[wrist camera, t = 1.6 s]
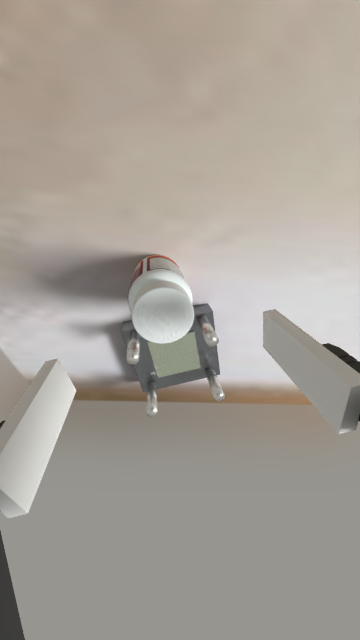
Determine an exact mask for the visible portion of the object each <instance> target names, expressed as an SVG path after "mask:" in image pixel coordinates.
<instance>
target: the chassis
mask: <svg viewBox="0 0 360 640" xmlns="http://www.w3.org/2000/svg"><path fill="white" fill-rule="evenodd" d="M193 308H194V321H193V324H192V326H191V328H190V330H189V331H188V332H187V333H186V334H185V335H184V336H183V337H182V338H180V339H178V340H176V341H174V342H171V343H164V344H160V343H153V342H150V341H148V340H146V339H144V338H143V337H142V336H140V335H139V333H138V332H137V331H136V329H135V328H134V325H133V322H132V321H127V322H123V325H122V330H121V333H122V335H123V338H124V341H125V344H126V346H127V355H126V361H127V363H129V364H132V365H134V368H135V371H136V374H137V376H138V379H139V382H140V384H141V387H142V390H143V392H147V416H149V417H155V416H156V415H157V414H158V411H157V391H156V389H160V388H164V387H168V386H172V385H177V384H181V383H185V382H189V381H194V380H198V379H202V378H206V377H207V379H208V382H209V385H210V387H211V390H212V393H213V396H214V399H215V400H216V401H221V400H223V399H224V398H225V395H224V393H223V390H222V388H221V385H220V383H219V380H218V378H217V376H216V375H219V374H220V370H219V361H218V353H217V344H218V342H219V339H218V337H217V335H216V333H215V327H214V319H213V311H212V309H211V308H210V306H209V305H208V304H204V305H199V306H195V307H193Z"/></svg>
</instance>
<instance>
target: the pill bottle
mask: <svg viewBox="0 0 360 640" xmlns="http://www.w3.org/2000/svg"><path fill="white" fill-rule="evenodd" d="M192 302H193V298H192V292H191V289H190V287H189V285H188V283H187V281H186V280H185V278H184V276H183V274H182V272H181V270H180V269H179V267H178V265H177V264H176V263H175V262H174V261H173V260H171V259H170V258H168V257H166V256H163V255H152V256H148V257H146V258H144V259H143V260H141V261H140V262H139V263H138V265H137V266H136V268H135V270H134V273H133V276H132V281H131V285H130V290H129V295H128V304H129V309H130V312H131V314H132V322H133V325H134V328H135V329H136V331H137V332H138V333H139V335H140V336H142V337H143V338H144V339H146V340H148V341H150V342H153V343H160V344H164V343H171V342H174V341H176V340H178V339H180V338H182V337H183V336H184V335H185V334H186V333H187V332H188V331H189V330H190V328H191V326H192V324H193V321H194V308H193V305H192Z"/></svg>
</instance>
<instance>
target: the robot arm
mask: <svg viewBox="0 0 360 640" xmlns="http://www.w3.org/2000/svg"><path fill="white" fill-rule="evenodd" d="M263 347H264V348H265V349H266V351H267V352H268V353H269V354H270V355H271V356H272V358H273V359H274V360H275V361H276V362H277V363H278V364H279V366H280V367H281V368H282V369H283V370H284V371H285V373H286V374H287V375H288V376H289V377H290V378H291V380H292V381H293V382H294V383H295V384H296V385H297V387H298V388H299V389H300V390H301V391H302V392H303V394H304V395H305V396H306V397H307V398H308V399H309V400H310V402H311V403H312V404H313V405H314V406H315V407H316V408H317V410H318V411H319V412H320V413H321V414H322V416H324V418H325V419H326V420H327V421H328V423H330V425H331V426H332V427H333V428H334V429H335V431H336V432H337V433H338V434H341V433H345V432H349V431H353V430H356V427H357V424H358V421H360V362H359V361H357V360H356V359H355V358H354V357H352V356H350V355H349V354H348V353H346V352H345V351H344V350H342V349H341V348H339V347H336V346H334V345H331V344H329V343H327V344H323V345H321V344H320V343H319V342H317V341H316V340H315V339H313V338H312V337H311V336H309V335H308V334H307V333H306V332H304V331H303V330H302V329H300V328H299V327H298V326H296V325H295V324H294V323H292V322H291V321H290V320H288V319H287V318H286V317H284V316H283V315H282V314H281V313H279V312H278V311H277V310H275V309H274V310H269V311H265V312H263ZM75 393H76V389H75V387H74V386H73V384H72V382H71V380H70V379H69V377H68V375H67V373H66V371H65V370H64V368H63V366H62V364H61V363H60V361H59V359H54V360H50V361H46V362H45V363H44V365H43V366H42V368H41V369H40V371H39V372H38V374H37V375H36V377H35V378H34V380H33V381H32V383H31V384H30V386H29V387H28V389H27V390H26V391H25V393H24V395H23V396H22V397H21V399H20V400H19V402H18V403H17V405H16V406H15V408H14V409H13V411H12V412H11V414H10V415H9V417H8V418H7V420H5V421H2V422H1V423H0V512H1V513H3V514H4V515H6V517H8V518H12V517H15V516H19V515H23V514H27V513H28V511H29V509H30V506H31V504H32V501H33V499H34V496H35V494H36V491H37V489H38V486H39V484H40V481H41V479H42V476H43V474H44V471H45V469H46V466H47V463H48V461H49V459H50V456H51V453H52V451H53V448H54V446H55V443H56V441H57V438H58V436H59V433H60V431H61V428H62V426H63V423H64V421H65V418H66V416H67V413H68V410H69V408H70V405H71V403H72V400H73V398H74V395H75ZM0 640H25V639H24V634H23V630H22V626H21V621H20V617H19V613H18V608H17V604H16V599H15V594H14V591H13V586H12V581H11V576H10V572H9V568H8V563H7V559H6V555H5V550H4V545H3V541H2V536H1V532H0Z"/></svg>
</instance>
